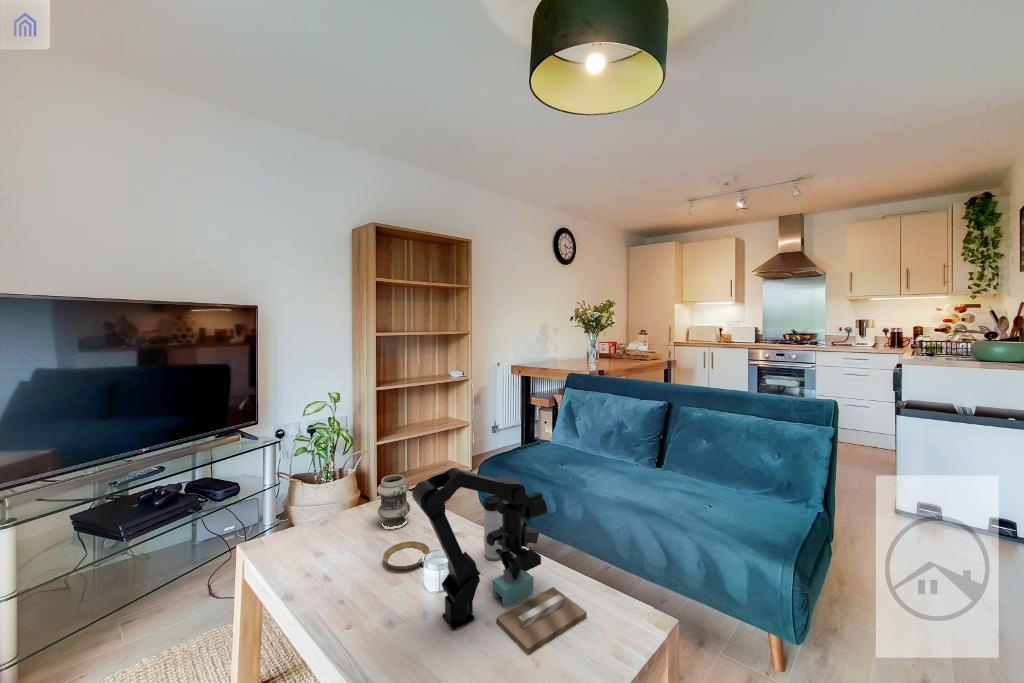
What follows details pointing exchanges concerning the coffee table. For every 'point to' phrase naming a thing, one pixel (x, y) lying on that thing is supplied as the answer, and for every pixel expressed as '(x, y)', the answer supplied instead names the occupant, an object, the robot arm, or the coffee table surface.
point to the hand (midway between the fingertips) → (512, 577)
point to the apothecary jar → (393, 500)
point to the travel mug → (491, 525)
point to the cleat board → (540, 619)
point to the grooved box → (512, 587)
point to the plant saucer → (403, 545)
